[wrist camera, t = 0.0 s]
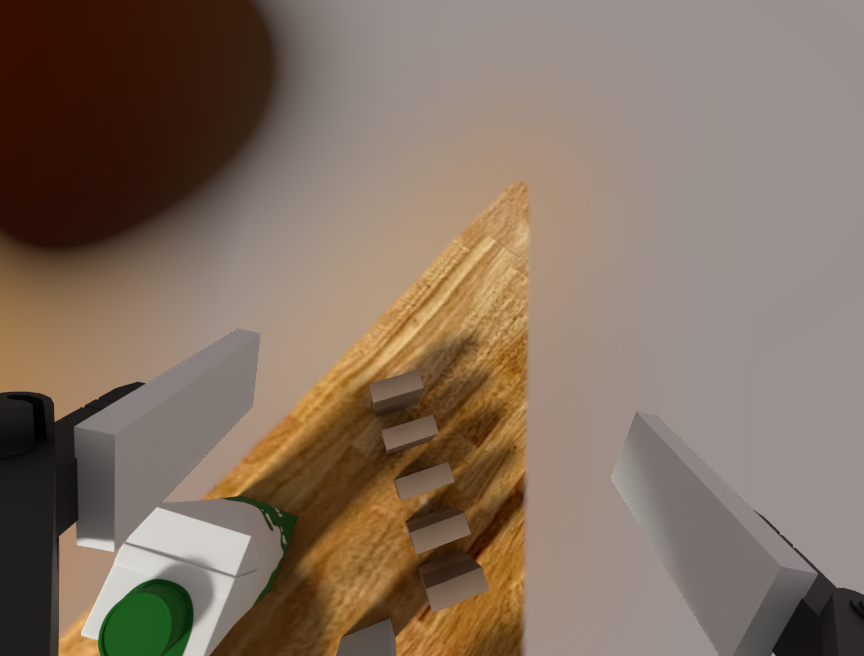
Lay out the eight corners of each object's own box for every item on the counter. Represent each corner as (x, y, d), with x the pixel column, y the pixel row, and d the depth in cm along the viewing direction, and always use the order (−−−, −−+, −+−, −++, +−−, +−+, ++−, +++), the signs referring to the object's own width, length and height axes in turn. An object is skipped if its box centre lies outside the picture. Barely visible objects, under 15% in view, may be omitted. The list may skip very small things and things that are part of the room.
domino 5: (454, 523, 47) (471, 534, 37) (410, 539, 46) (416, 554, 36) (448, 506, 47) (464, 512, 38) (405, 521, 46) (410, 532, 37)
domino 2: (417, 404, 51) (424, 387, 41) (375, 416, 50) (373, 402, 40) (412, 389, 51) (418, 369, 42) (371, 402, 50) (368, 384, 41)
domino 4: (441, 481, 48) (454, 481, 39) (398, 496, 47) (401, 500, 38) (436, 465, 49) (448, 461, 39) (393, 479, 48) (395, 479, 38)
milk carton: (190, 578, 43) (37, 656, 24) (230, 485, 46) (123, 489, 27) (275, 604, 43) (188, 703, 24) (309, 509, 46) (256, 531, 27)
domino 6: (467, 567, 45) (489, 589, 36) (422, 584, 45) (432, 612, 35) (462, 549, 46) (481, 567, 37) (417, 566, 45) (426, 589, 36)
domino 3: (428, 441, 49) (438, 433, 40) (386, 455, 48) (386, 450, 39) (424, 426, 50) (432, 414, 40) (382, 439, 49) (381, 430, 40)
